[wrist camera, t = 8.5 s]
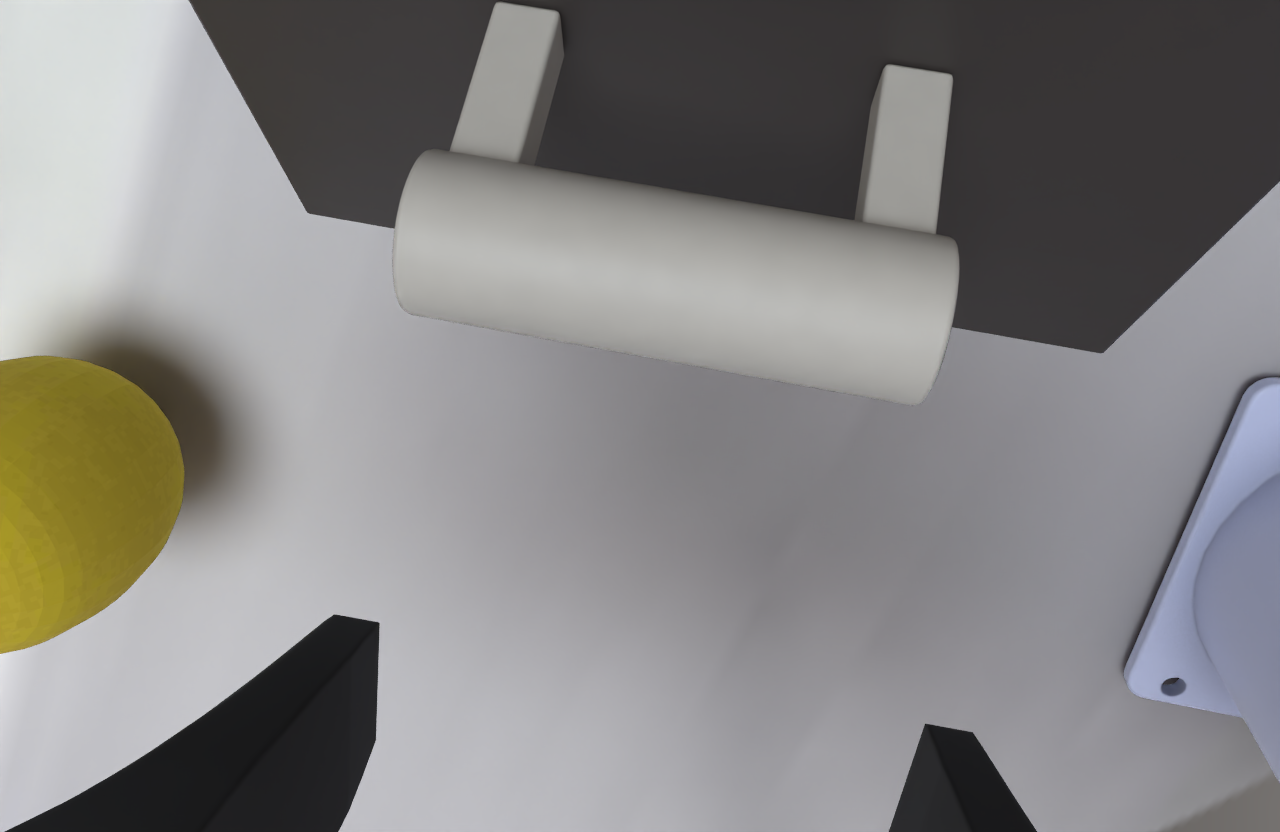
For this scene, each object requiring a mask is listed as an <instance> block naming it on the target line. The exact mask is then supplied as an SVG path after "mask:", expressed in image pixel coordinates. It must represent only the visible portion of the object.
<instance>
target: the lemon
mask: <svg viewBox="0 0 1280 832" xmlns="http://www.w3.org/2000/svg"><path fill="white" fill-rule="evenodd" d="M183 488H184V464H183V459H182V454H181V449H180V445H179V441H178V439H177V437H176V435H175V433H174V430H173V428H172V426H171V424H170V422H169V420H168V419H167V417H166V416H165V415H164V413H163V412H162V411H161V409H160V408H159V407H158V405H157V404H156V403H155V401H154V400H153V399H151V398H150V397H149V396H148V395H147V394H146V393H145V392H144V391H143V390H142V389H140V388H139V387H138V386H137V385H136V384H134V383H132V382H131V381H129V380H127V379H126V378H124V377H122V376H121V375H119V374H117V373H116V372H113V371H111V370H109V369H106V368H103V367H101V366H98V365H95V364H92V363H89V362H87V361H83V360H77V359H70V358H62V357H54V356H32V357H25V358H18V359H11V360H4V361H0V654H2V653H7V652H11V651H16V650H21V649H25V648H28V647H31V646H34V645H38V644H40V643H43V642H45V641H47V640H49V639H51V638H54V637H56V636H58V635H59V634H61V633H63V632H65V631H67V630H69V629H71V628H72V627H74V626H76V625H78V624H80V623H81V622H83V621H85V620H87V619H89V618H91V617H92V616H94V615H95V614H97V613H99V612H100V611H102V610H103V609H105V608H106V607H107V606H109V605H110V604H112V603H113V602H114V601H116V600H117V599H118V598H119V597H120V596H121V595H122V594H124V593H125V592H126V591H127V590H128V589H129V588H130V587H131V586H132V585H133V584H134V583H135V582H136V580H137V579H138V578H139V577H140V576H141V575H142V574H143V573H144V571H145V570H146V569H147V568H148V567H149V566H150V565H151V564H152V562H153V561H154V560H155V559H156V557H157V556H158V555H159V553H160V552H161V550H162V549H163V547H164V545H165V544H166V542H167V540H168V538H169V536H170V533H171V531H172V529H173V526H174V524H175V521H176V519H177V516H178V514H179V511H180V508H181V504H182V500H183Z"/></svg>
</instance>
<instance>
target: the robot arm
mask: <svg viewBox="0 0 1280 832" xmlns="http://www.w3.org/2000/svg"><path fill="white" fill-rule="evenodd" d="M378 654H379V623H378V622H373V621H367V620H362V619H357V618H351V617H346V616H340V615H333V616H332V617H330V618H328V619H327V620H326V621H324V622H323V623H322V624H321V625H319V626H318V627H317V628H316V629H314V630H313V631H312V632H311V633H309V634H308V635H307V636H306V637H304V638H303V639H302V640H301V641H299V642H298V643H297V644H296V645H295V646H293V647H292V648H291V649H290V650H288V651H287V652H286V653H285V654H283V655H282V656H281V657H280V658H278V659H277V660H276V661H275V662H273V663H272V664H271V665H270V666H268V667H267V668H266V669H264V670H263V671H262V672H261V673H259V674H258V675H257V676H256V677H254V678H253V679H252V680H250V681H249V682H248V683H246V684H245V685H244V686H242V687H241V688H240V689H238V690H237V691H236V692H234V693H233V694H232V695H230V696H229V697H228V698H226V699H225V700H224V701H222V702H221V703H220V704H218V705H217V706H216V707H214V708H213V709H212V710H210V711H209V712H207V713H206V714H205V715H203V716H202V717H200V718H199V719H197V720H196V721H195V722H193V723H192V724H190V725H189V726H187V727H186V728H184V729H183V730H181V731H180V732H178V733H177V734H175V735H174V736H173V737H171V738H170V739H168V740H167V741H165V742H164V743H162V744H161V745H159V746H158V747H156V748H155V749H153V750H152V751H150V752H149V753H147V754H146V755H144V756H143V757H141V758H139V759H138V760H136V761H135V762H133V763H131V764H130V765H128V766H127V767H125V768H123V769H122V770H120V771H118V772H117V773H115V774H113V775H112V776H110V777H108V778H107V779H105V780H103V781H101V782H100V783H98V784H96V785H95V786H93V787H91V788H89V789H88V790H86V791H84V792H82V793H81V794H79V795H77V796H75V797H73V798H71V799H70V800H68V801H66V802H64V803H62V804H60V805H58V806H56V807H54V808H52V809H50V810H48V811H46V812H44V813H42V814H40V815H38V816H36V817H34V818H32V819H30V820H28V821H26V822H24V823H22V824H20V825H18V826H16V827H14V828H11V829H9V830H7V831H5V832H338V831H339V829H340V827H341V825H342V823H343V821H344V819H345V817H346V815H347V813H348V811H349V809H350V807H351V804H352V801H353V799H354V796H355V794H356V791H357V789H358V786H359V784H360V781H361V779H362V776H363V773H364V771H365V768H366V765H367V762H368V760H369V757H370V754H371V752H372V749H373V746H374V744H375V741H376V716H377V685H378ZM1124 678H1125V681H1126V683H1127V685H1128V688H1129V690H1130V691H1131V692H1132V693H1133V694H1134V695H1136V696H1139V697H1142V698H1145V699H1150V700H1155V701H1160V702H1166V703H1171V704H1176V705H1181V706H1186V707H1191V708H1196V709H1201V710H1206V711H1211V712H1216V713H1221V714H1226V715H1231V716H1236V717H1241V718H1243V719H1244V720H1245V722H1246V724H1247V726H1248V728H1249V729H1250V731H1251V733H1252V735H1253V737H1254V738H1255V740H1256V742H1257V744H1258V746H1259V747H1260V749H1261V751H1262V753H1263V755H1264V756H1265V758H1266V760H1267V762H1268V764H1269V765H1270V767H1271V769H1272V771H1273V773H1274V774H1275V776H1276V778H1277V780H1278V782H1279V783H1280V378H1279V377H1268V378H1265V379H1262V380H1259V381H1256V382H1255V383H1254V384H1252V385H1251V386H1250V387H1248V389H1247V390H1246V392H1245V393H1244V395H1243V396H1242V399H1241V401H1240V403H1239V406H1238V408H1237V410H1236V412H1235V415H1234V417H1233V419H1232V422H1231V424H1230V426H1229V429H1228V431H1227V433H1226V436H1225V438H1224V440H1223V442H1222V445H1221V447H1220V449H1219V452H1218V454H1217V456H1216V459H1215V461H1214V463H1213V466H1212V468H1211V470H1210V472H1209V475H1208V477H1207V479H1206V482H1205V484H1204V486H1203V489H1202V491H1201V493H1200V496H1199V498H1198V500H1197V502H1196V505H1195V507H1194V509H1193V512H1192V514H1191V516H1190V519H1189V521H1188V523H1187V526H1186V528H1185V530H1184V532H1183V535H1182V537H1181V539H1180V542H1179V544H1178V546H1177V549H1176V551H1175V553H1174V556H1173V558H1172V560H1171V562H1170V565H1169V567H1168V569H1167V572H1166V574H1165V576H1164V579H1163V581H1162V583H1161V586H1160V588H1159V590H1158V592H1157V595H1156V597H1155V599H1154V602H1153V604H1152V606H1151V609H1150V611H1149V613H1148V616H1147V618H1146V620H1145V622H1144V625H1143V627H1142V629H1141V632H1140V634H1139V636H1138V639H1137V641H1136V643H1135V646H1134V648H1133V650H1132V652H1131V655H1130V657H1129V659H1128V662H1127V664H1126V666H1125V669H1124ZM1169 678H1179V680H1178V681H1177V682H1175V683H1173V684H1171V685H1164V684H1162V683H1163V682H1164V681H1165V680H1167V679H1169ZM889 832H1037V831H1036V829H1035V828H1034V826H1033V825H1032V823H1031V822H1030V820H1029V819H1028V817H1027V816H1026V814H1025V813H1024V811H1023V810H1022V808H1021V806H1020V805H1019V803H1018V802H1017V800H1016V799H1015V797H1014V796H1013V794H1012V793H1011V791H1010V789H1009V788H1008V786H1007V785H1006V783H1005V782H1004V780H1003V778H1002V777H1001V775H1000V774H999V772H998V771H997V769H996V767H995V766H994V764H993V763H992V761H991V760H990V758H989V756H988V755H987V753H986V752H985V750H984V749H983V747H982V746H981V744H980V743H979V741H978V740H977V738H976V737H975V735H974V734H973V732H967V731H962V730H957V729H951V728H946V727H940V726H935V725H930V724H925V726H924V729H923V732H922V735H921V738H920V741H919V744H918V747H917V750H916V753H915V756H914V759H913V762H912V765H911V768H910V771H909V773H908V776H907V779H906V782H905V785H904V788H903V791H902V794H901V797H900V800H899V803H898V806H897V809H896V812H895V815H894V818H893V821H892V824H891V827H890V830H889Z"/></svg>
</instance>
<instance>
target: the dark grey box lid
mask: <svg viewBox="0 0 1280 832" xmlns="http://www.w3.org/2000/svg"><path fill="white" fill-rule="evenodd" d="M189 2H190V3H191V5H192V7H193V9H194V11H195V12H196V14H197V16H198V18H199V20H200V21H201V23H202V25H203V27H204V29H205V30H206V32H207V34H208V36H209V37H210V39H211V41H212V43H213V45H214V46H215V48H216V50H217V52H218V54H219V55H220V57H221V59H222V61H223V63H224V64H225V66H226V68H227V70H228V71H229V73H230V75H231V77H232V79H233V80H234V82H235V84H236V86H237V88H238V89H239V91H240V93H241V95H242V97H243V98H244V100H245V102H246V104H247V105H248V107H249V109H250V111H251V113H252V114H253V116H254V118H255V120H256V122H257V123H258V125H259V127H260V129H261V131H262V132H263V134H264V136H265V138H266V139H267V141H268V143H269V145H270V147H271V148H272V150H273V152H274V154H275V156H276V157H277V159H278V161H279V163H280V165H281V166H282V168H283V170H284V172H285V173H286V175H287V177H288V179H289V181H290V182H291V184H292V186H293V188H294V190H295V191H296V193H297V195H298V197H299V199H300V200H301V202H302V204H303V206H304V207H305V209H306V211H307V212H308V213H310V214H315V215H320V216H326V217H332V218H337V219H343V220H349V221H354V222H360V223H366V224H371V225H377V226H383V227H388V228H394V229H395V230H394V239H393V259H392V263H393V279H394V287H395V292H396V296H397V299H398V302H399V304H400V306H401V307H402V309H403V310H404V311H406V312H407V313H409V314H411V315H416V316H422V317H427V318H433V319H438V320H444V321H449V322H455V323H460V324H466V325H471V326H477V327H482V328H488V329H493V330H499V331H504V332H510V333H515V334H521V335H526V336H532V337H537V338H543V339H548V340H554V341H559V342H565V343H570V344H576V345H581V346H587V347H592V348H598V349H603V350H609V351H614V352H620V353H625V354H631V355H636V356H642V357H647V358H653V359H658V360H664V361H669V362H675V363H680V364H686V365H691V366H697V367H702V368H708V369H713V370H719V371H724V372H730V373H735V374H741V375H746V376H752V377H757V378H763V379H768V380H774V381H779V382H785V383H790V384H796V385H801V386H807V387H812V388H818V389H823V390H828V391H834V392H839V393H845V394H850V395H856V396H861V397H867V398H872V399H878V400H883V401H889V402H894V403H900V404H905V405H911V406H914V405H919V404H921V403H922V402H923V401H924V400H925V399H926V397H927V396H928V394H929V392H930V391H931V389H932V387H933V385H934V383H935V380H936V378H937V376H938V373H939V370H940V367H941V365H942V362H943V358H944V355H945V352H946V348H947V344H948V341H949V337H950V332H951V328H952V327H955V328H960V329H966V330H972V331H977V332H983V333H989V334H994V335H1000V336H1006V337H1011V338H1017V339H1023V340H1028V341H1034V342H1040V343H1045V344H1051V345H1057V346H1062V347H1068V348H1074V349H1079V350H1085V351H1090V352H1096V353H1103V352H1104V351H1105V350H1107V349H1108V348H1109V347H1110V346H1111V345H1112V344H1113V343H1114V342H1115V341H1116V340H1117V339H1118V338H1119V337H1120V336H1121V335H1122V334H1123V333H1124V332H1125V331H1126V330H1127V329H1128V328H1129V327H1130V326H1131V325H1132V324H1133V323H1134V322H1135V321H1136V320H1137V319H1138V318H1139V317H1140V316H1142V315H1143V314H1144V313H1145V312H1146V311H1147V310H1148V309H1149V308H1150V307H1151V306H1152V305H1153V304H1154V303H1155V302H1156V301H1157V300H1158V299H1159V298H1160V297H1161V296H1162V295H1163V294H1164V293H1165V292H1166V291H1167V290H1168V289H1169V288H1170V287H1171V286H1172V285H1173V284H1174V283H1175V282H1177V281H1178V280H1179V279H1180V278H1181V277H1182V276H1183V275H1184V274H1185V273H1186V272H1187V271H1188V270H1189V269H1190V268H1191V267H1192V266H1193V265H1194V264H1195V263H1196V262H1197V261H1198V260H1199V259H1200V258H1201V257H1202V256H1203V255H1204V254H1205V253H1206V252H1207V251H1208V250H1209V249H1210V248H1212V247H1213V246H1214V245H1215V244H1216V243H1217V242H1218V241H1219V240H1220V239H1221V238H1222V237H1223V236H1224V235H1225V234H1226V233H1227V232H1228V231H1229V230H1230V229H1231V228H1232V227H1233V226H1234V225H1235V224H1236V223H1237V222H1238V221H1239V220H1240V219H1241V218H1242V217H1243V216H1244V215H1245V214H1246V213H1248V212H1249V211H1250V210H1251V209H1252V208H1253V207H1254V206H1255V205H1256V204H1257V203H1258V202H1259V201H1260V200H1261V199H1262V198H1263V197H1264V196H1265V195H1266V194H1267V193H1268V192H1269V191H1270V190H1271V189H1272V188H1273V187H1274V186H1275V185H1276V184H1277V183H1278V182H1279V181H1280V0H189Z"/></svg>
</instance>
